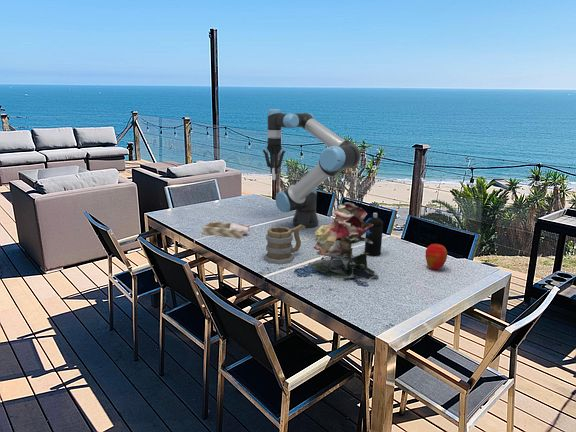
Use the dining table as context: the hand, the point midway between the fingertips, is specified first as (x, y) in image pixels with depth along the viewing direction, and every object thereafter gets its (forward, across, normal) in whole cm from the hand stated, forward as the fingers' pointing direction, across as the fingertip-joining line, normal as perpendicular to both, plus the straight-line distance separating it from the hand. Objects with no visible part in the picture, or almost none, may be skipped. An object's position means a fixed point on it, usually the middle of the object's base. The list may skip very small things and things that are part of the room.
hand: (273, 179), depth 249 cm
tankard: (+27, +22, -51) cm, 62 cm away
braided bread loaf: (+26, -19, -25) cm, 41 cm away
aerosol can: (+27, +60, -33) cm, 73 cm away
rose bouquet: (+27, +49, -58) cm, 80 cm away
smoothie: (+24, -6, -25) cm, 35 cm away
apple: (+27, +88, -44) cm, 102 cm away
